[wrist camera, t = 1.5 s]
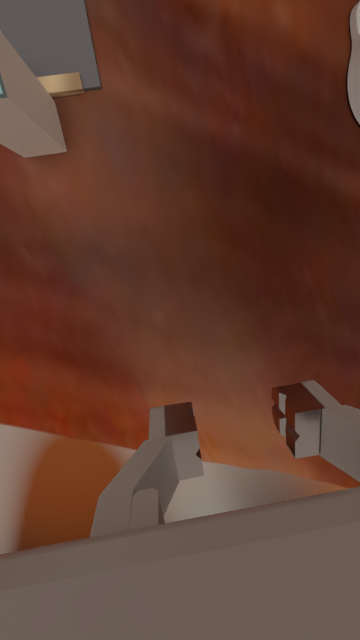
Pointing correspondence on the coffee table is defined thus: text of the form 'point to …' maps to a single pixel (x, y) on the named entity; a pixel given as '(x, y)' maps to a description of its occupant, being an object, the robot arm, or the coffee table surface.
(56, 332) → the coffee table surface
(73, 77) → the oak stop strip
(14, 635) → the robot arm
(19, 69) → the cream block
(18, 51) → the charcoal rubber mat
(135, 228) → the coffee table surface
